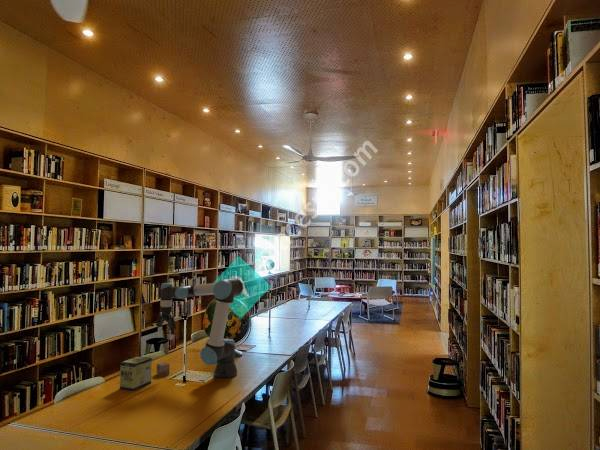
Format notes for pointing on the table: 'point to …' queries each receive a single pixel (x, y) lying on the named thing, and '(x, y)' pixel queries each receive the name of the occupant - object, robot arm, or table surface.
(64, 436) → the table surface
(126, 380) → the protein box
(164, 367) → the walnut block
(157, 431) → the table surface
